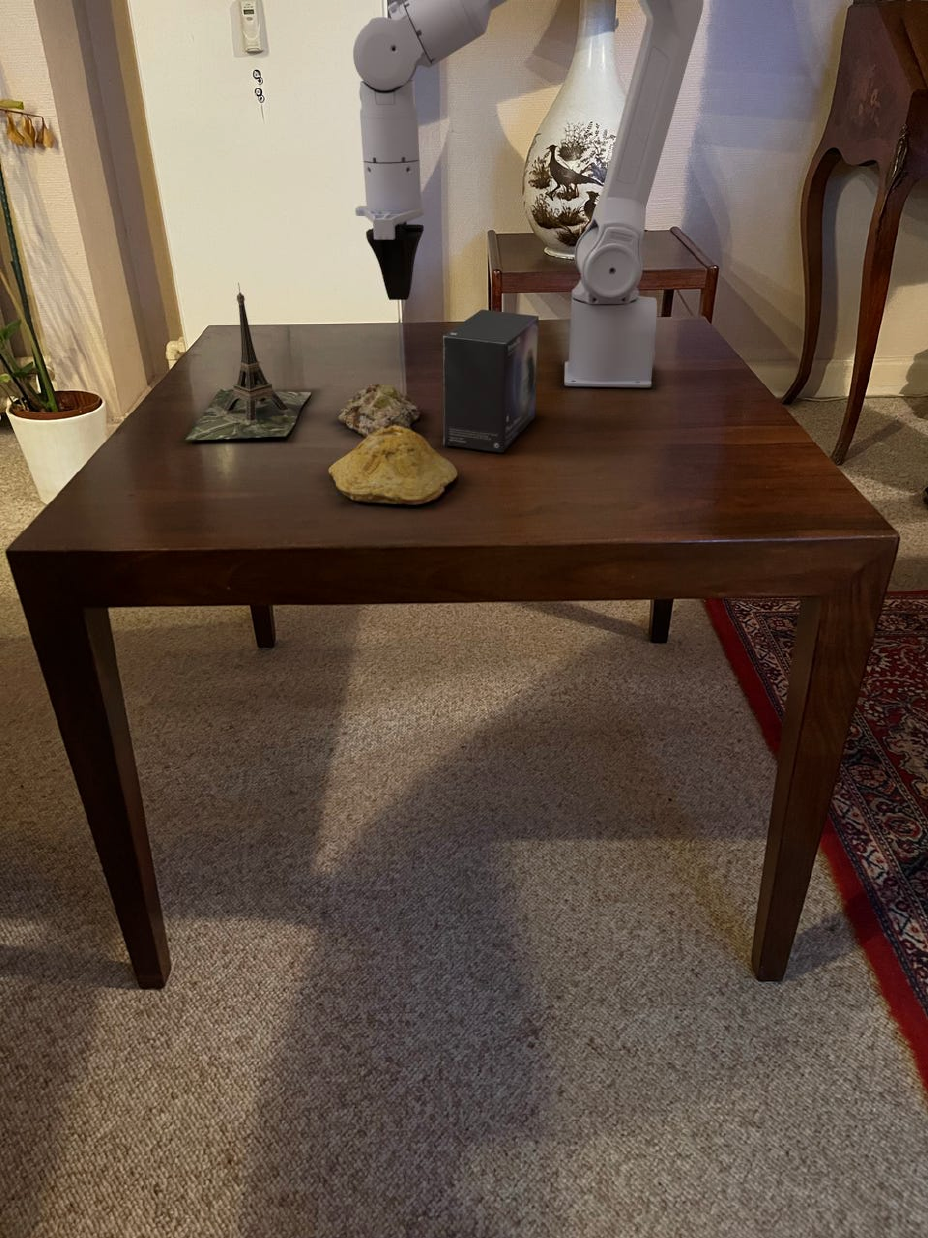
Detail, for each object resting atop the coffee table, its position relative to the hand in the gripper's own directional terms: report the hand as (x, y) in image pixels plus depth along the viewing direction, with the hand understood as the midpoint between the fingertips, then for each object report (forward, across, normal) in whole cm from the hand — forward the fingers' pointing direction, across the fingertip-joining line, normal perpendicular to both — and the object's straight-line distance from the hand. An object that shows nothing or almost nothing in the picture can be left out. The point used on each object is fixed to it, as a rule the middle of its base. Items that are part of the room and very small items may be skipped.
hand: (398, 298), depth 101 cm
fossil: (+9, +29, +3) cm, 31 cm away
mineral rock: (+9, +15, 0) cm, 17 cm away
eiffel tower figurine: (+9, +13, -14) cm, 21 cm away
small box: (+9, +16, +11) cm, 22 cm away
